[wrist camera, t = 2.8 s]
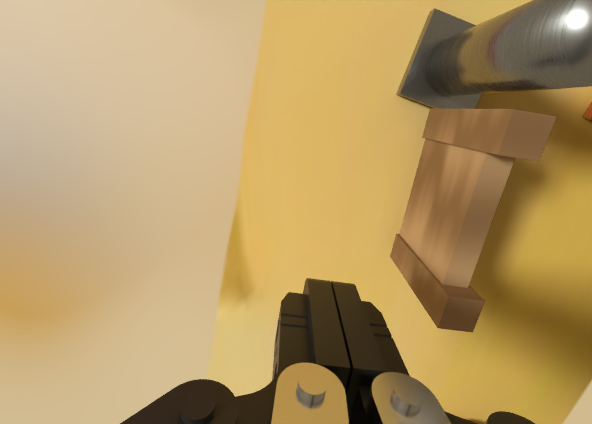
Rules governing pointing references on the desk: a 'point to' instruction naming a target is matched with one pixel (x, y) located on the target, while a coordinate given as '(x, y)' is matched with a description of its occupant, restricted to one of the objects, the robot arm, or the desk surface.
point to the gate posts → (501, 54)
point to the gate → (460, 203)
